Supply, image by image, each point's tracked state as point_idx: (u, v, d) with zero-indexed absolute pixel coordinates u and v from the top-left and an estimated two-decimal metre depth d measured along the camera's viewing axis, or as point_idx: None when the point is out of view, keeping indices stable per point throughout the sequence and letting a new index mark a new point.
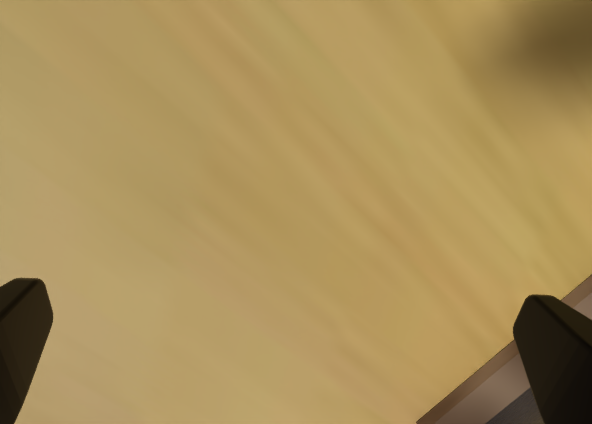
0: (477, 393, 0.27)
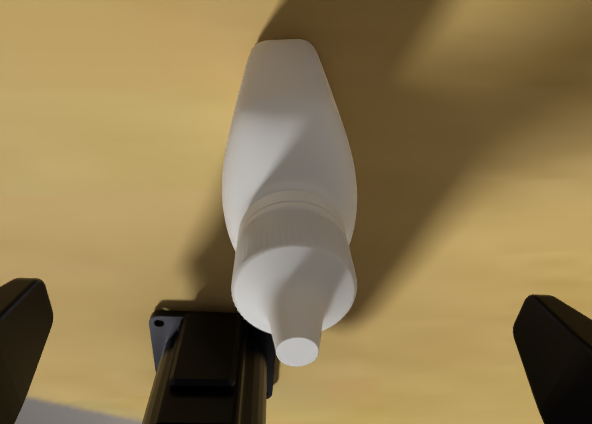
0: None
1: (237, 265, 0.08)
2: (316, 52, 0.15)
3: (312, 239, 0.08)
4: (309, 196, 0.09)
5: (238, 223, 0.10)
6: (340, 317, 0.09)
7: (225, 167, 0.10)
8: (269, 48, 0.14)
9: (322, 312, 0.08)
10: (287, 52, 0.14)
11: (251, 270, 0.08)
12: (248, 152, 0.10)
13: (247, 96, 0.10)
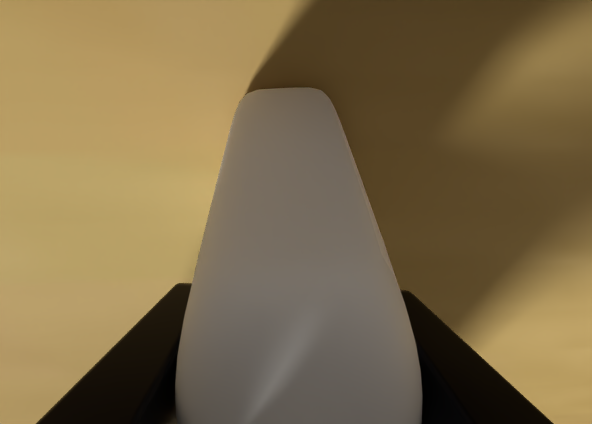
0: None
1: None
2: (333, 106, 0.11)
3: None
4: None
5: None
6: None
7: (178, 377, 0.05)
8: (265, 108, 0.09)
9: None
10: (292, 118, 0.09)
11: None
12: (218, 373, 0.05)
13: (220, 243, 0.05)
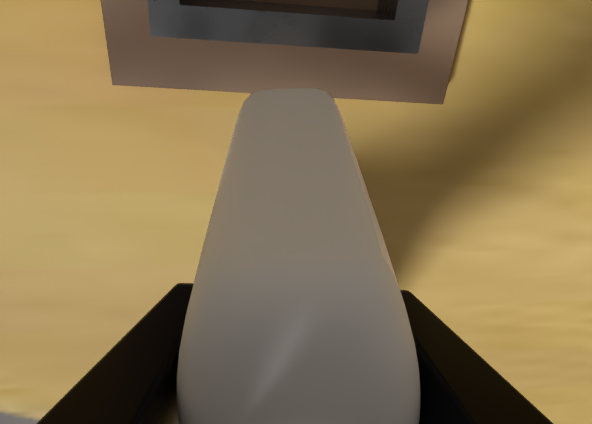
0: None
1: None
2: (337, 107, 0.11)
3: None
4: None
5: None
6: None
7: (179, 371, 0.05)
8: (269, 108, 0.09)
9: None
10: (296, 118, 0.09)
11: None
12: (219, 369, 0.05)
13: (222, 240, 0.05)
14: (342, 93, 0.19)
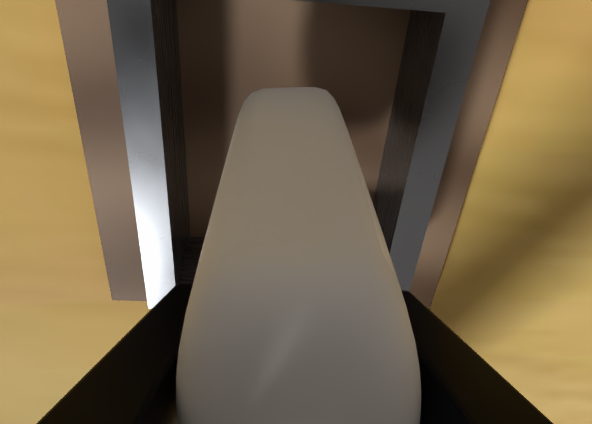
0: (105, 214, 0.17)
1: None
2: None
3: None
4: None
5: None
6: None
7: (178, 371, 0.05)
8: (269, 106, 0.09)
9: None
10: (297, 117, 0.09)
11: None
12: (219, 368, 0.05)
13: (222, 238, 0.05)
14: None
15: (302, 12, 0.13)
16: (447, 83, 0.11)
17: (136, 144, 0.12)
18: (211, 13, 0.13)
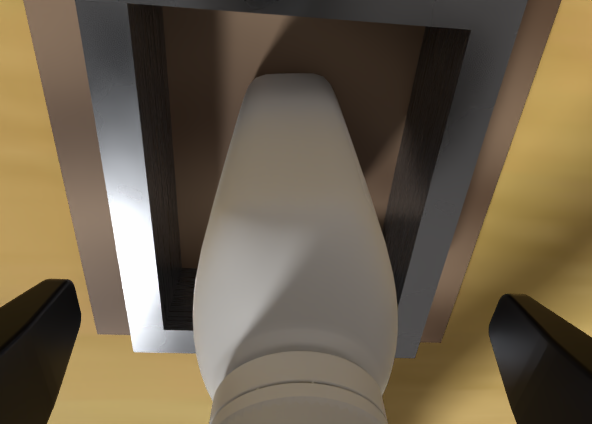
0: (87, 245, 0.15)
1: None
2: (333, 91, 0.12)
3: None
4: (329, 365, 0.06)
5: (214, 381, 0.06)
6: None
7: (196, 291, 0.07)
8: (271, 88, 0.11)
9: None
10: (296, 96, 0.10)
11: None
12: (230, 280, 0.06)
13: (233, 182, 0.07)
14: None
15: (304, 26, 0.12)
16: (470, 109, 0.10)
17: (116, 177, 0.11)
18: (202, 27, 0.12)
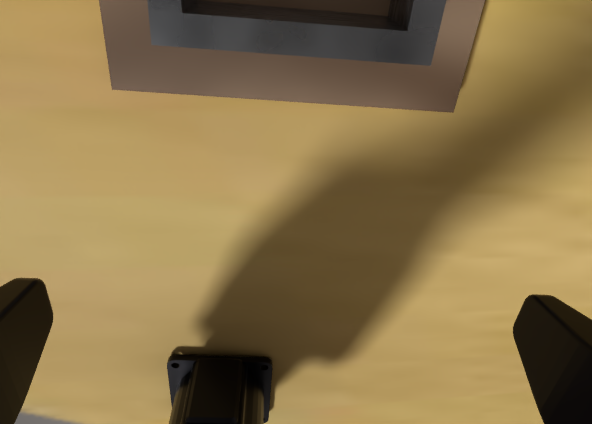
0: None
1: None
2: None
3: None
4: None
5: None
6: None
7: None
8: None
9: None
10: None
11: None
12: None
13: None
14: (349, 100, 0.18)
15: None
16: None
17: None
18: None
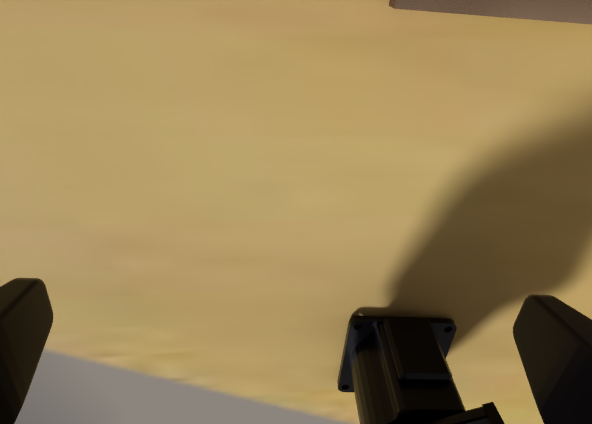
0: None
1: None
2: None
3: None
4: None
5: None
6: None
7: None
8: None
9: None
10: None
11: None
12: None
13: None
14: None
15: None
16: None
17: None
18: None
